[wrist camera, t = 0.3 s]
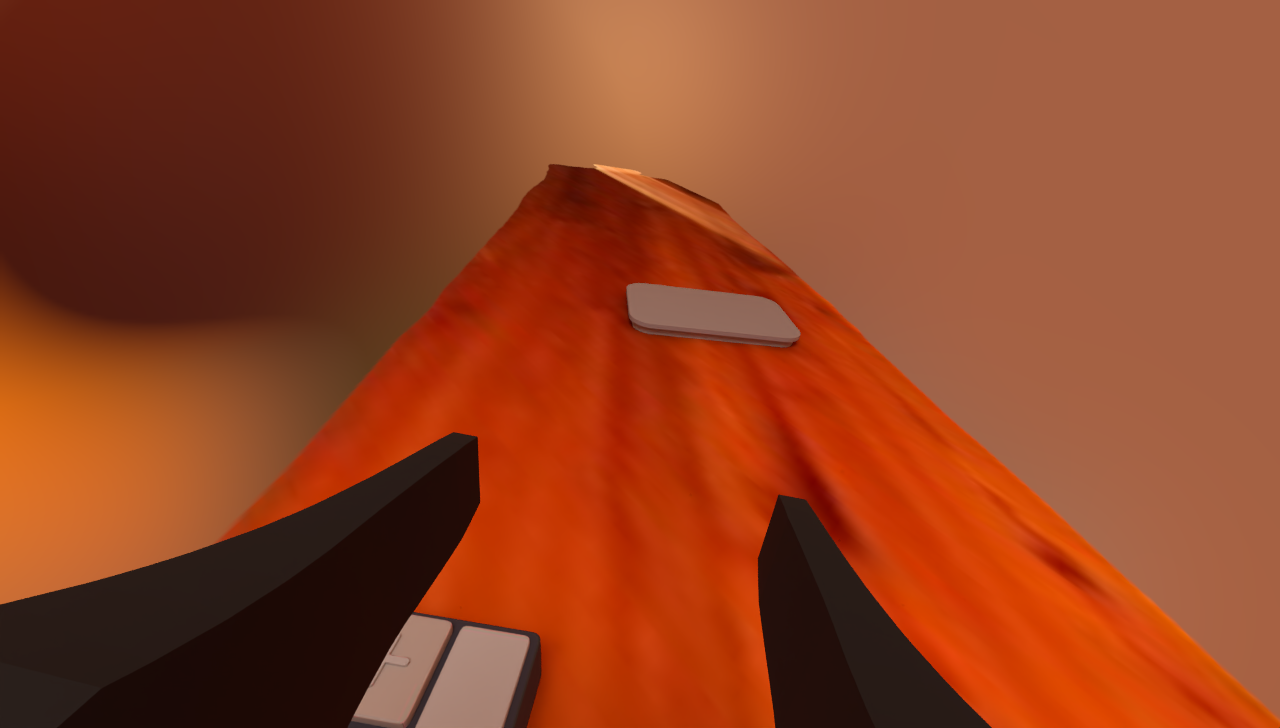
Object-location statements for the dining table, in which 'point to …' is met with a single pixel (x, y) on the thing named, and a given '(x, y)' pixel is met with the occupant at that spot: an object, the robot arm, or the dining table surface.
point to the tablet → (709, 315)
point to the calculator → (453, 677)
